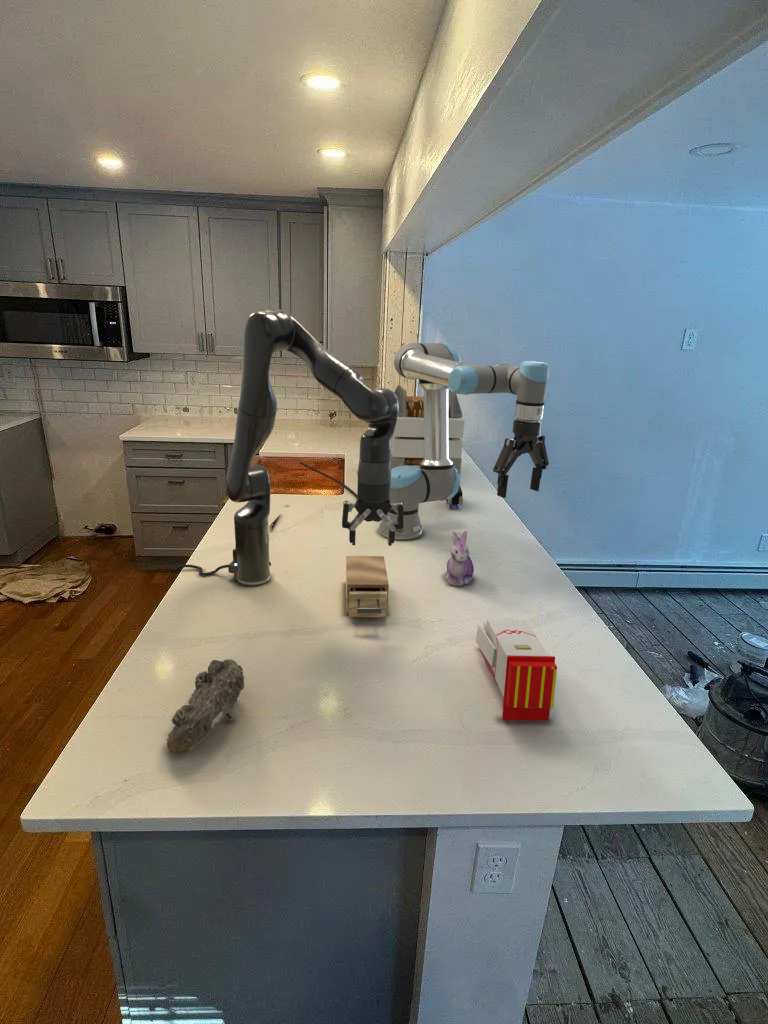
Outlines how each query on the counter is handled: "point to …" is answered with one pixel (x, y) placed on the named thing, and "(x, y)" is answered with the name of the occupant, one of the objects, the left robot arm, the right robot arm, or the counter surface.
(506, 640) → the toy
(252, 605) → the counter surface
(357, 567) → the cabinet
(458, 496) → the figurine character
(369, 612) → the drawer
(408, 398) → the white crate
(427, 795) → the counter surface
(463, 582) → the figurine
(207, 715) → the fossil
